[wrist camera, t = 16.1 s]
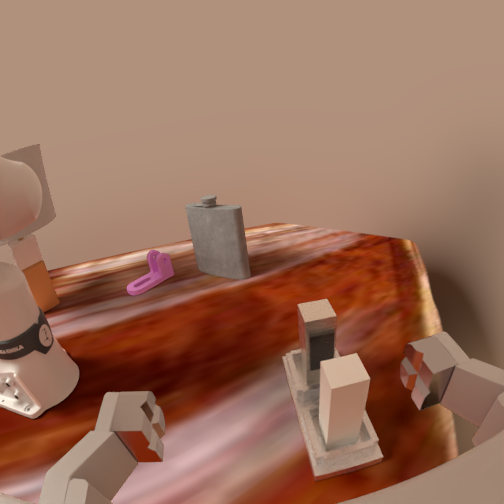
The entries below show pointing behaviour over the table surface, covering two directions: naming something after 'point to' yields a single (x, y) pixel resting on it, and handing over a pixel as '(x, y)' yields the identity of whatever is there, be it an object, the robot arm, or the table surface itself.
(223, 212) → the hip flask
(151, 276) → the bracket
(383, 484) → the table surface
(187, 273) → the table surface
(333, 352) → the pillar on stepped tray
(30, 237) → the lamp
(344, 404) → the loose rectangular block
